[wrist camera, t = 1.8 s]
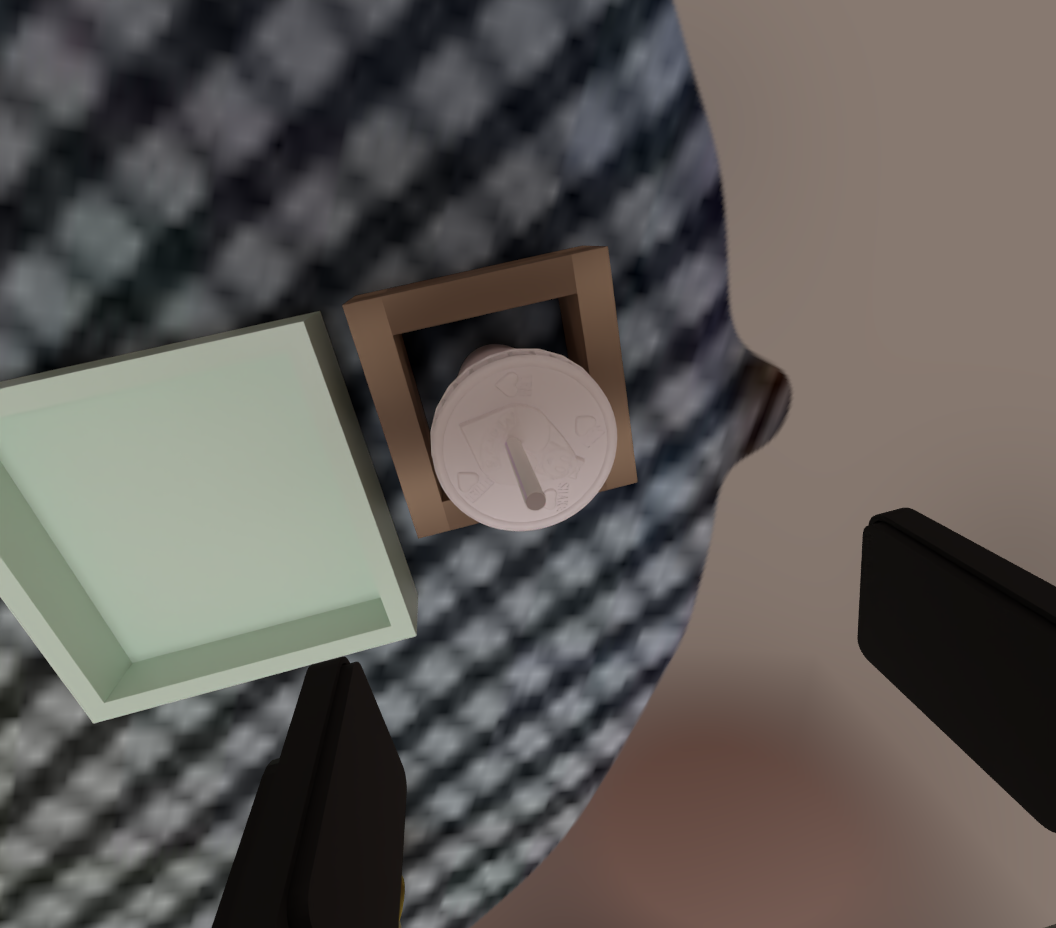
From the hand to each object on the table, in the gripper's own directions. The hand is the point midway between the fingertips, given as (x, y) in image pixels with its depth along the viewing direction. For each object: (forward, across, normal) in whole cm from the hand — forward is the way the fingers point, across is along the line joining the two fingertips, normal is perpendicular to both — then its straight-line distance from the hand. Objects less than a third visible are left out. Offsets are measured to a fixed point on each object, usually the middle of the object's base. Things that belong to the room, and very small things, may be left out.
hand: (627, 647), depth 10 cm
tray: (+19, +15, +2) cm, 24 cm away
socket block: (+19, 0, -1) cm, 19 cm away
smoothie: (+19, 0, -1) cm, 19 cm away
